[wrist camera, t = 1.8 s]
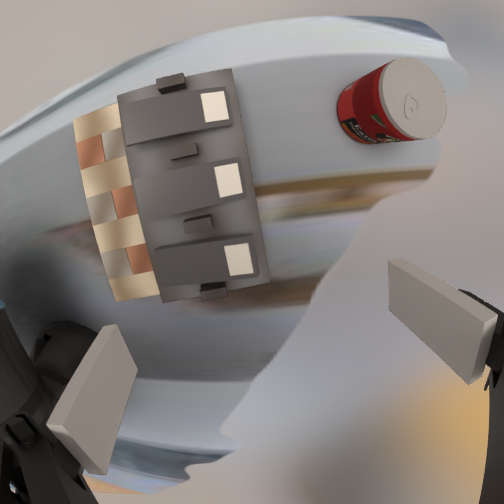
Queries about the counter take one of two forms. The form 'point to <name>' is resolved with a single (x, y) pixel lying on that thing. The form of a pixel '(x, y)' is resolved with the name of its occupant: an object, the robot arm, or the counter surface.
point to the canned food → (393, 104)
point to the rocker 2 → (207, 260)
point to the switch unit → (153, 162)
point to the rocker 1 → (175, 115)
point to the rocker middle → (189, 188)
